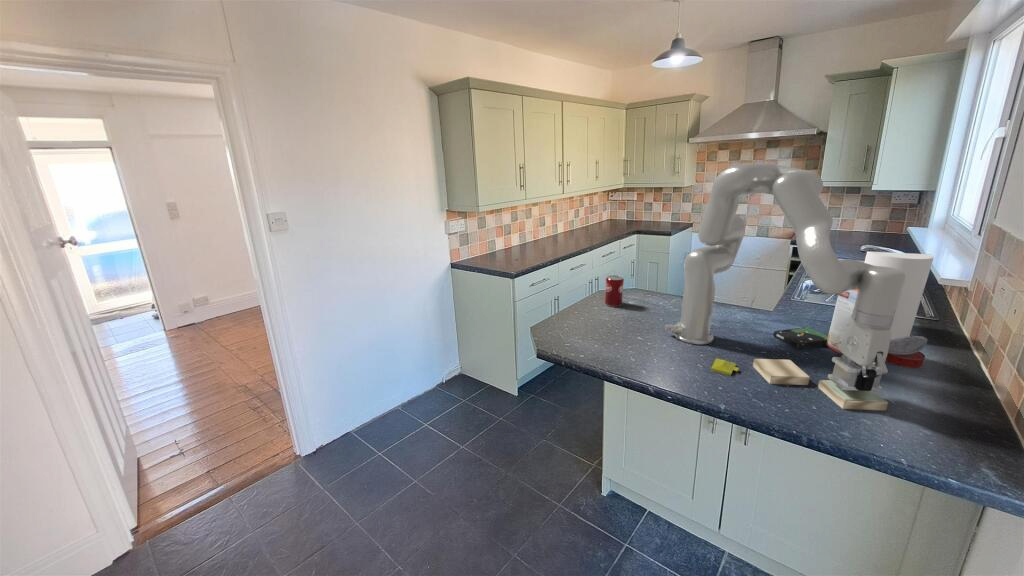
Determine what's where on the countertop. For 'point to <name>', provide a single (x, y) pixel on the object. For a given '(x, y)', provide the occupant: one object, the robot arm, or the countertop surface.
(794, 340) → the disk drive
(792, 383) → the stand
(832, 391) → the stand
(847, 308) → the cracker box
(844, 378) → the housing
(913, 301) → the cylinder
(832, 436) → the countertop surface
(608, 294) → the soda can
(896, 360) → the canned food
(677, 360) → the countertop surface
